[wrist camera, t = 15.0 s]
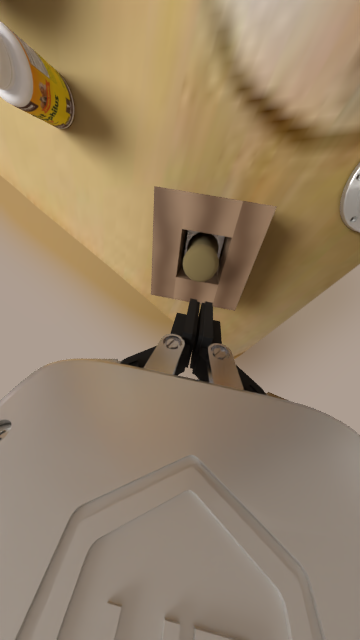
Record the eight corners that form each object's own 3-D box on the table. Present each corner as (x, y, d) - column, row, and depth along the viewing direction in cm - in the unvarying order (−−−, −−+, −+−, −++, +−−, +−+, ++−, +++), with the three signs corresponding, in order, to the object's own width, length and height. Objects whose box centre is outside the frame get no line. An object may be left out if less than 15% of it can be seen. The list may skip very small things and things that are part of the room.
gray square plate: (225, 232, 30) (225, 233, 29) (215, 268, 34) (215, 270, 33) (188, 225, 30) (188, 226, 29) (183, 262, 34) (182, 264, 33)
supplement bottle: (60, 139, 26) (-9, 109, 18) (30, 89, 23) (-67, 26, 15) (84, 114, 24) (19, 66, 16) (54, 56, 21) (-43, -38, 13)
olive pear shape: (216, 265, 32) (219, 289, 24) (186, 264, 33) (178, 287, 24) (220, 231, 29) (226, 243, 20) (187, 231, 30) (177, 243, 21)
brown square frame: (260, 206, 27) (276, 206, 21) (230, 291, 37) (234, 310, 30) (167, 190, 28) (154, 186, 21) (161, 278, 37) (151, 294, 31)
